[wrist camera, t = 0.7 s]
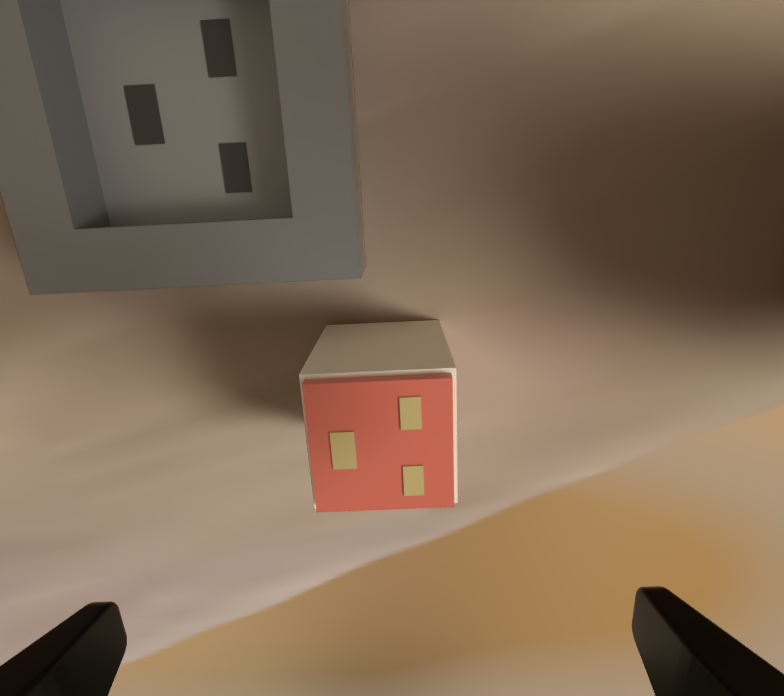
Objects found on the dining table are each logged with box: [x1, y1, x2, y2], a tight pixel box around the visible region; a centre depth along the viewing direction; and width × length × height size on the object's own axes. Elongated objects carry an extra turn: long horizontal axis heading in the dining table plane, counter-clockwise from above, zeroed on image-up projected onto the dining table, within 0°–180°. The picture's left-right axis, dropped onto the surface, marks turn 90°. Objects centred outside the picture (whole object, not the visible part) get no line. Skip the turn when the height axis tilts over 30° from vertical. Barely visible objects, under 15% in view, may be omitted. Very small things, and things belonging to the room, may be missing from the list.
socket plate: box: [0, 0, 366, 295], centre depth 15 cm, size 11×11×3 cm
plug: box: [299, 320, 458, 512], centre depth 16 cm, size 4×4×6 cm
